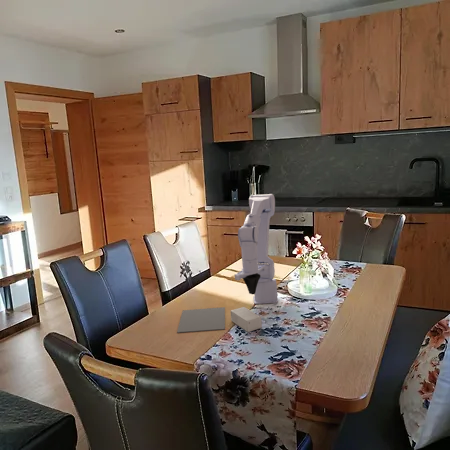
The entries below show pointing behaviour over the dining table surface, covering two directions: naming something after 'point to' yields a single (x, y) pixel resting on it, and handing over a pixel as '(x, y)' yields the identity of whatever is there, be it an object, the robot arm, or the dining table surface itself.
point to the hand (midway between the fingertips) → (252, 293)
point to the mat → (202, 320)
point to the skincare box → (246, 319)
